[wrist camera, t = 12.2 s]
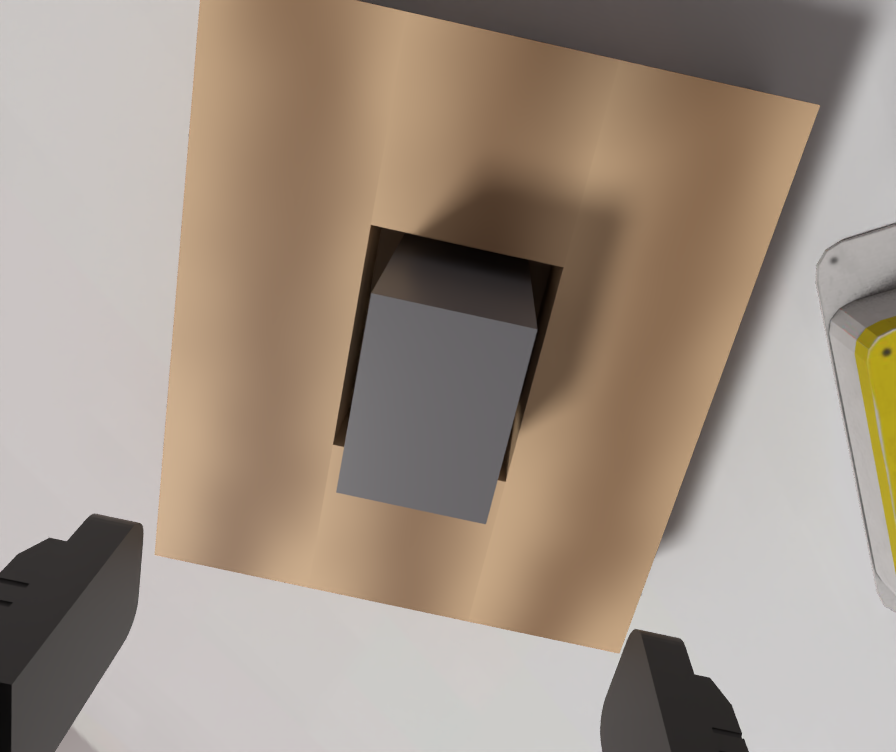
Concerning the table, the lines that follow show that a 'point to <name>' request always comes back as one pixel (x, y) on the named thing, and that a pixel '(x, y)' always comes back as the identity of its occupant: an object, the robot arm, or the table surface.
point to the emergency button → (866, 380)
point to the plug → (439, 378)
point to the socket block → (472, 225)
